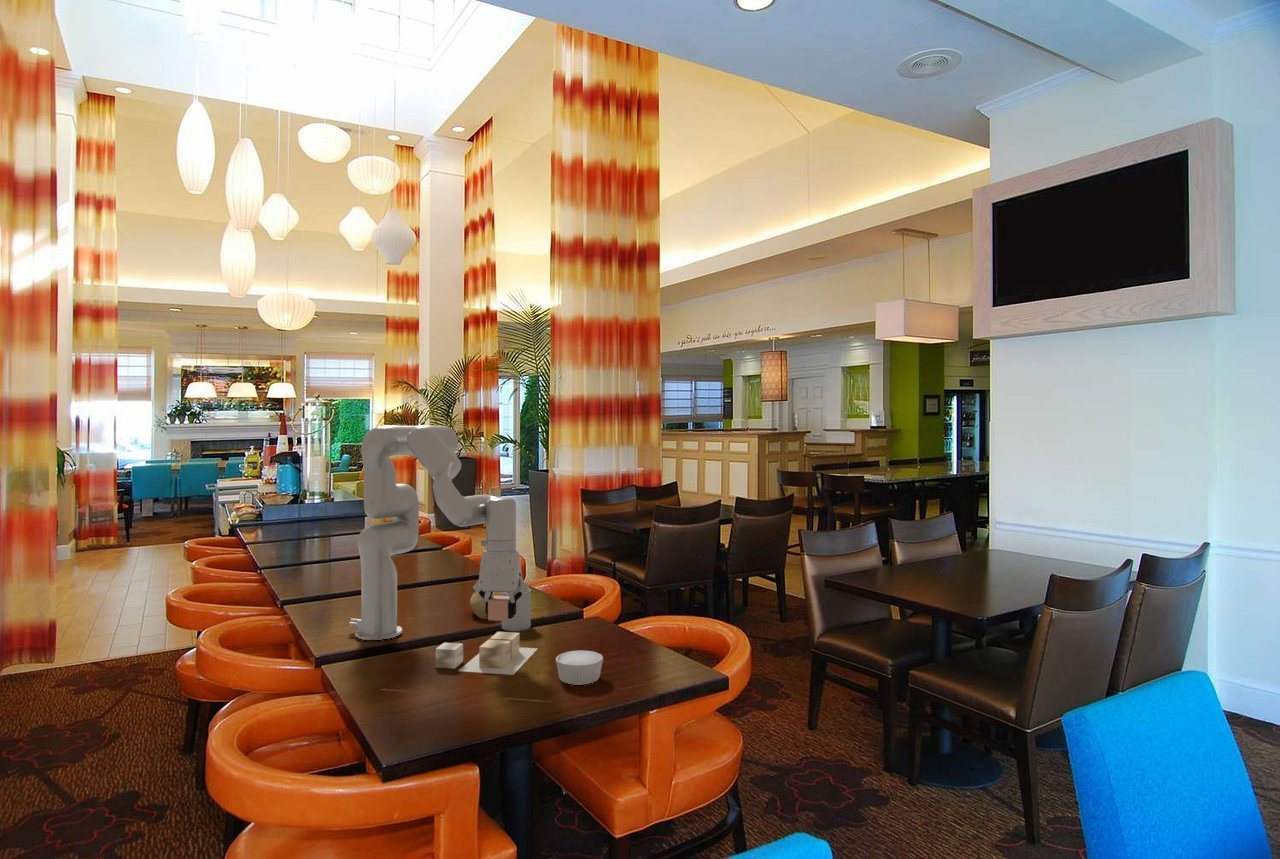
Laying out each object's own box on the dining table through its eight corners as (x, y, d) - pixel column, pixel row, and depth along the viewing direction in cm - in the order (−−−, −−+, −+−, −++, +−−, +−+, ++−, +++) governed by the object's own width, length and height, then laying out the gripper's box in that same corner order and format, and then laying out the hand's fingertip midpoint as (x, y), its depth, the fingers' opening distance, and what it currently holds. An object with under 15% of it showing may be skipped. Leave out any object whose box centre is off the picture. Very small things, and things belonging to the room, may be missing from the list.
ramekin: (550, 674, 170) (550, 652, 170) (593, 668, 175) (593, 647, 175) (563, 691, 160) (563, 667, 160) (609, 684, 164) (609, 661, 164)
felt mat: (458, 672, 171) (458, 670, 171) (488, 646, 191) (488, 645, 191) (513, 675, 169) (513, 674, 169) (537, 649, 188) (537, 648, 188)
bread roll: (495, 607, 231) (495, 583, 231) (506, 619, 217) (506, 593, 217) (465, 610, 227) (466, 585, 227) (474, 622, 213) (475, 596, 213)
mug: (529, 622, 214) (529, 586, 214) (531, 630, 206) (532, 593, 206) (489, 624, 211) (489, 588, 211) (490, 633, 203) (490, 595, 203)
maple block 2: (489, 657, 181) (489, 638, 181) (497, 650, 187) (497, 631, 186) (511, 659, 180) (512, 639, 180) (519, 651, 186) (519, 632, 186)
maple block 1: (479, 667, 174) (479, 646, 174) (488, 659, 180) (488, 639, 180) (502, 668, 173) (502, 648, 173) (510, 660, 179) (510, 640, 179)
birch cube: (435, 668, 173) (435, 648, 173) (444, 662, 178) (444, 642, 178) (454, 670, 173) (454, 649, 172) (462, 663, 177) (463, 643, 177)
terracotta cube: (487, 620, 177) (488, 600, 177) (495, 614, 182) (495, 595, 182) (506, 621, 177) (507, 601, 177) (513, 615, 182) (513, 596, 182)
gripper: (463, 547, 177) (463, 619, 177) (528, 549, 174) (528, 622, 174) (475, 542, 184) (474, 611, 184) (537, 544, 182) (537, 614, 182)
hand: (500, 616), depth 179 cm, fingers closed on terracotta cube, 4 cm apart
